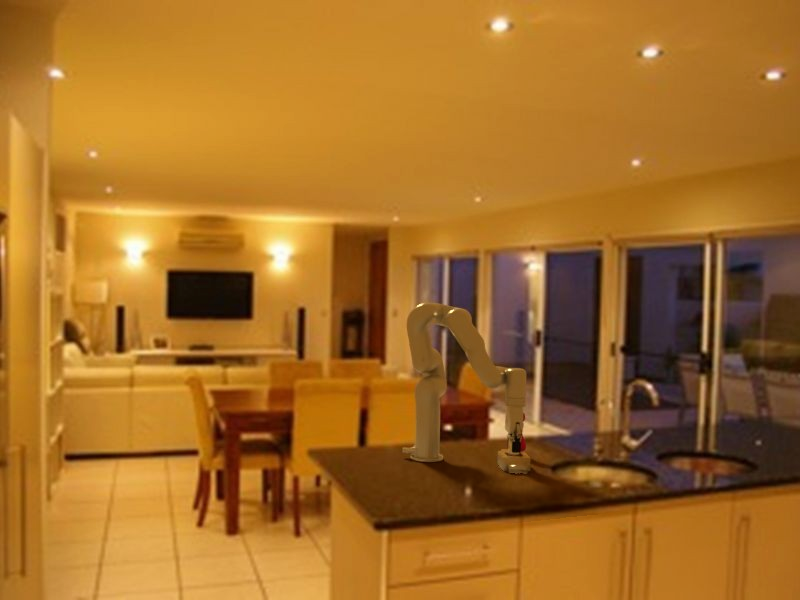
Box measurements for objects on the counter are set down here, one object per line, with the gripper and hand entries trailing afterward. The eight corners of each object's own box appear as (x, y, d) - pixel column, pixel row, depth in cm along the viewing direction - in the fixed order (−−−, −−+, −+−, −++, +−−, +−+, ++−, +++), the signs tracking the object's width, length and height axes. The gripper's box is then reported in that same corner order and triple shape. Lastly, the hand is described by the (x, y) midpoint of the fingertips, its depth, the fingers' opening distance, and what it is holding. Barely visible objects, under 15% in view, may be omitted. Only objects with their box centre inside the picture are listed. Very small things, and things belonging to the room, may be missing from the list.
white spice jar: (507, 469, 251) (508, 436, 251) (504, 466, 256) (505, 433, 256) (521, 469, 251) (522, 437, 251) (518, 466, 256) (519, 434, 256)
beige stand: (504, 473, 245) (505, 459, 245) (495, 462, 262) (496, 449, 262) (532, 474, 245) (532, 460, 245) (521, 462, 262) (521, 449, 262)
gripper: (500, 398, 262) (499, 445, 262) (510, 405, 245) (508, 455, 245) (520, 398, 262) (518, 445, 262) (531, 405, 245) (529, 455, 245)
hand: (514, 449), depth 253 cm, fingers open, 6 cm apart
